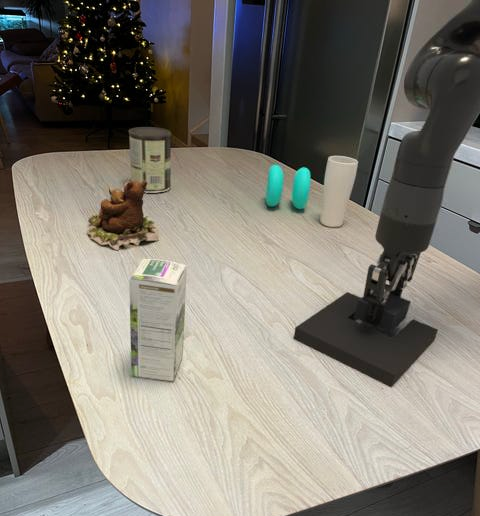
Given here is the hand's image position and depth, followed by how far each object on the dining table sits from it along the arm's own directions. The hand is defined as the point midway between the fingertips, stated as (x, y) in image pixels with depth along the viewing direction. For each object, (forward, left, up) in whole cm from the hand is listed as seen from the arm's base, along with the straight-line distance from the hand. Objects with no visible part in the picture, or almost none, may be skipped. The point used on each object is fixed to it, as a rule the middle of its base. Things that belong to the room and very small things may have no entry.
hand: (381, 314), depth 78 cm
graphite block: (0, 0, -1) cm, 1 cm away
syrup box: (+31, -17, -3) cm, 36 cm away
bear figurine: (+6, -55, -3) cm, 55 cm away
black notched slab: (+4, 0, -3) cm, 5 cm away
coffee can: (-19, -74, -3) cm, 76 cm away
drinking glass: (-35, -29, -3) cm, 45 cm away
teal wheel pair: (-36, -43, -3) cm, 56 cm away
